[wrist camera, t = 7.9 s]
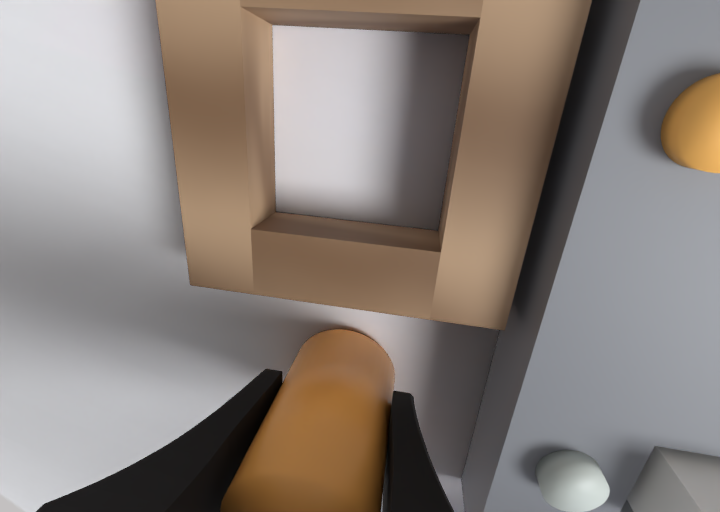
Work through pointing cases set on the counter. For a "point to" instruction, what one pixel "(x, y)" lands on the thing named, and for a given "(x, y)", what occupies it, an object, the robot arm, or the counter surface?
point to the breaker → (677, 483)
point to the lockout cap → (322, 432)
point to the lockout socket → (352, 238)
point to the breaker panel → (614, 275)
